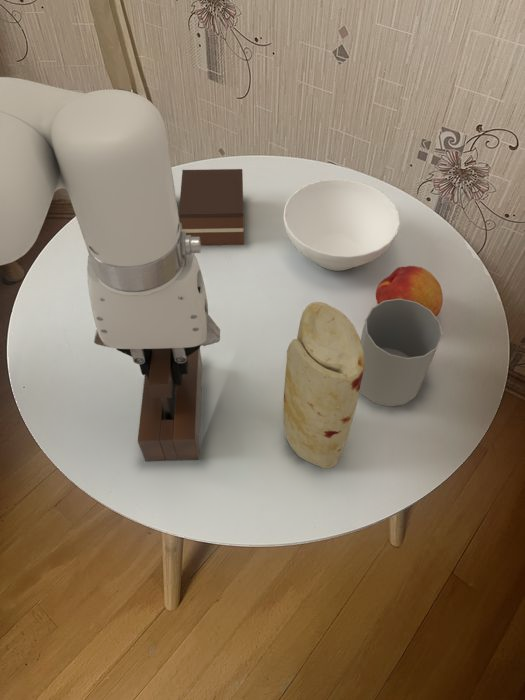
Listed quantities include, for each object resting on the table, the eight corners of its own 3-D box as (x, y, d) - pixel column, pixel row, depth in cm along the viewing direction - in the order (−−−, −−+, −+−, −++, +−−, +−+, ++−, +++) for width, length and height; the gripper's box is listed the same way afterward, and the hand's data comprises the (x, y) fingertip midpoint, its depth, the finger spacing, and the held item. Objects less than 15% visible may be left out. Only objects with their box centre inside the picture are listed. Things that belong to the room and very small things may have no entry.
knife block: (145, 461, 64) (137, 441, 59) (154, 365, 71) (148, 342, 67) (198, 460, 64) (194, 439, 60) (202, 364, 71) (198, 341, 67)
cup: (424, 358, 72) (445, 308, 64) (417, 413, 67) (438, 366, 59) (359, 344, 73) (371, 292, 65) (347, 396, 69) (359, 348, 61)
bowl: (259, 254, 83) (259, 217, 77) (326, 202, 90) (331, 164, 84) (346, 311, 77) (353, 275, 71) (411, 250, 84) (423, 212, 78)
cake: (183, 245, 84) (178, 214, 79) (186, 201, 90) (182, 169, 85) (244, 244, 84) (243, 213, 79) (243, 200, 90) (242, 168, 85)
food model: (355, 465, 63) (389, 364, 47) (300, 483, 62) (315, 386, 46) (322, 395, 69) (342, 282, 53) (270, 410, 67) (274, 300, 51)
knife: (164, 440, 65) (148, 385, 55) (169, 382, 70) (154, 321, 60) (182, 440, 65) (168, 384, 55) (185, 381, 70) (173, 320, 60)
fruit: (399, 283, 80) (412, 241, 73) (446, 316, 76) (464, 275, 70) (362, 312, 76) (372, 271, 70) (409, 348, 73) (424, 308, 66)
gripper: (234, 218, 49) (240, 345, 64) (47, 221, 48) (97, 348, 63) (234, 282, 44) (240, 402, 59) (29, 286, 44) (87, 406, 59)
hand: (166, 373), depth 61 cm, fingers closed on knife, 2 cm apart
